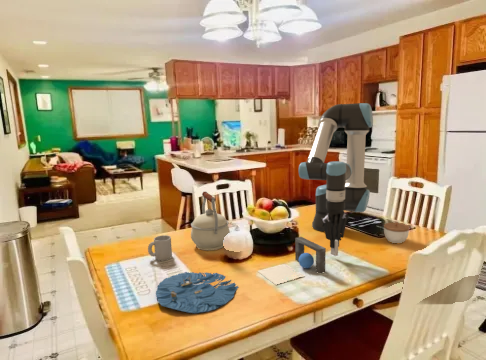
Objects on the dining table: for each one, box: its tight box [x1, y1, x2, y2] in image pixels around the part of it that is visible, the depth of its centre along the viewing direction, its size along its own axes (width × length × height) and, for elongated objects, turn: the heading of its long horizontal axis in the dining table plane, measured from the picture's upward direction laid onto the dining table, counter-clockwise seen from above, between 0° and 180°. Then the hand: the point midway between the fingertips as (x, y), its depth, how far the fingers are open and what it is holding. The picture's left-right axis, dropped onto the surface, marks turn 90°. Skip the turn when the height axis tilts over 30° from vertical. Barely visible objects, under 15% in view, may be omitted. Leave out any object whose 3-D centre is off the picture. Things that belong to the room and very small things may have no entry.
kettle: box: [190, 191, 231, 251], centre depth 161 cm, size 25×18×25 cm
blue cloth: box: [155, 271, 240, 314], centre depth 119 cm, size 30×30×5 cm
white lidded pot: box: [383, 221, 410, 244], centre depth 159 cm, size 11×11×9 cm
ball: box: [298, 252, 315, 269], centre depth 135 cm, size 6×6×6 cm
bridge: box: [294, 236, 327, 274], centre depth 136 cm, size 3×15×10 cm, turn 28°
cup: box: [147, 234, 173, 261], centre depth 148 cm, size 7×10×9 cm
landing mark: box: [257, 263, 305, 286], centre depth 130 cm, size 13×13×1 cm
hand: (334, 254), depth 142 cm, fingers closed
